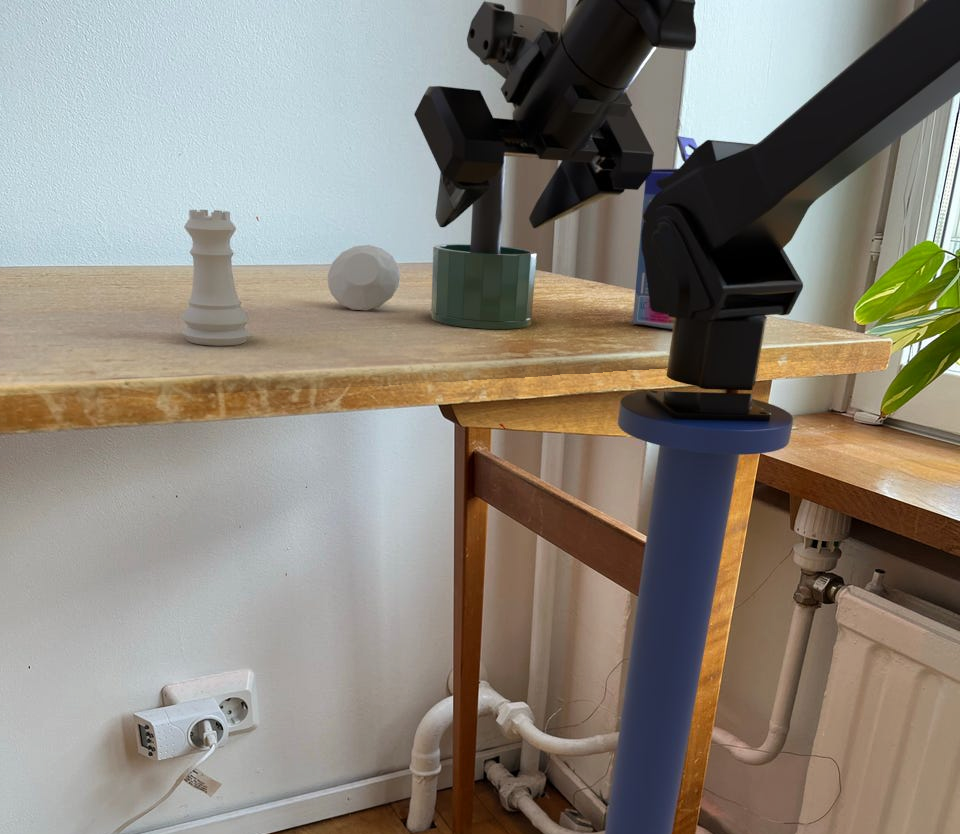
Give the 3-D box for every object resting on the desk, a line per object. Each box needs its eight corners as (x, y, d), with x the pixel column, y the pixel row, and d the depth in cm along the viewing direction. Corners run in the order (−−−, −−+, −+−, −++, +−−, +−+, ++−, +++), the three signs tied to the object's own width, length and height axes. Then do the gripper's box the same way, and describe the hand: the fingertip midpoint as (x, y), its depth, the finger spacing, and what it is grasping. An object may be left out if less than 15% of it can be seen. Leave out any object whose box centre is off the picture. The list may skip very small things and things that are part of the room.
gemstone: (403, 268, 87) (395, 232, 82) (407, 330, 85) (400, 298, 80) (334, 275, 87) (323, 240, 82) (337, 337, 86) (326, 305, 81)
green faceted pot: (540, 330, 78) (546, 256, 75) (436, 327, 76) (439, 251, 74) (521, 314, 85) (526, 246, 82) (426, 311, 83) (428, 242, 81)
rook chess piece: (264, 340, 67) (259, 213, 63) (222, 349, 63) (215, 214, 60) (211, 332, 68) (204, 207, 65) (168, 340, 65) (157, 209, 61)
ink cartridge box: (670, 313, 91) (694, 139, 85) (727, 321, 89) (756, 142, 82) (625, 324, 83) (648, 133, 77) (686, 332, 81) (715, 136, 74)
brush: (499, 319, 78) (510, 135, 72) (447, 313, 79) (454, 132, 73) (515, 312, 82) (527, 137, 76) (465, 307, 83) (473, 134, 77)
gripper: (646, -19, 71) (538, 147, 84) (434, -64, 61) (347, 133, 74) (712, 104, 69) (590, 255, 82) (504, 79, 59) (401, 256, 71)
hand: (487, 223), depth 77 cm, fingers open, 9 cm apart
